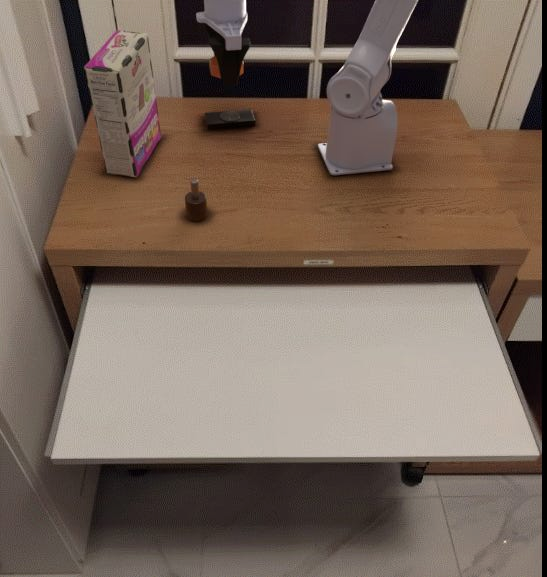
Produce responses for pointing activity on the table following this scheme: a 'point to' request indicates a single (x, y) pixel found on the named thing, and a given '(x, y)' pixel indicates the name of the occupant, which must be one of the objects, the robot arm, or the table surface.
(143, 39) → the candy bar box
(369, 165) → the robot arm
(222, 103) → the table surface
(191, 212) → the brown cylinder with stem
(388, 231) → the table surface
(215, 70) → the ring
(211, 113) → the hob plate
